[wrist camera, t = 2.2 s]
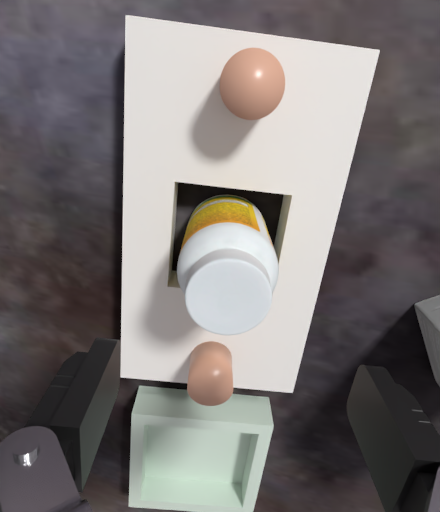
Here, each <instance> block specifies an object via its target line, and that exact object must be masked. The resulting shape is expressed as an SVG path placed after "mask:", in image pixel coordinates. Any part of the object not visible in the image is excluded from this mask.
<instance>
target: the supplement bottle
mask: <svg viewBox="0 0 440 512" xmlns="http://www.w3.org/2000/svg"><path fill="white" fill-rule="evenodd" d="M278 274H279V265H278V260H277V256H276V252H275V249H274V247H273V244H272V241H271V238H270V235H269V233H268V229H267V227H266V224H265V221H264V218H263V216H262V214H261V213H260V211H259V210H258V209H257V207H256V206H255V205H254V204H252V203H251V202H250V201H248V200H247V199H245V198H243V197H239V196H235V195H217V196H213V197H211V198H208V199H206V200H205V201H203V202H202V203H201V204H200V205H198V206H197V208H196V209H195V210H194V211H193V213H192V215H191V217H190V219H189V222H188V225H187V229H186V233H185V236H184V240H183V243H182V247H181V251H180V255H179V258H178V263H177V277H178V282H179V285H180V288H181V290H182V292H183V294H184V295H185V304H186V308H187V311H188V313H189V315H190V316H191V318H192V319H193V320H194V321H195V322H196V323H197V324H198V325H199V326H200V327H202V328H203V329H205V330H207V331H209V332H211V333H215V334H220V335H237V334H241V333H244V332H247V331H249V330H251V329H253V328H254V327H256V326H257V325H258V324H260V323H261V322H262V320H263V319H264V318H265V317H266V315H267V314H268V311H269V309H270V307H271V303H272V293H273V291H274V289H275V287H276V284H277V280H278Z"/></svg>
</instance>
